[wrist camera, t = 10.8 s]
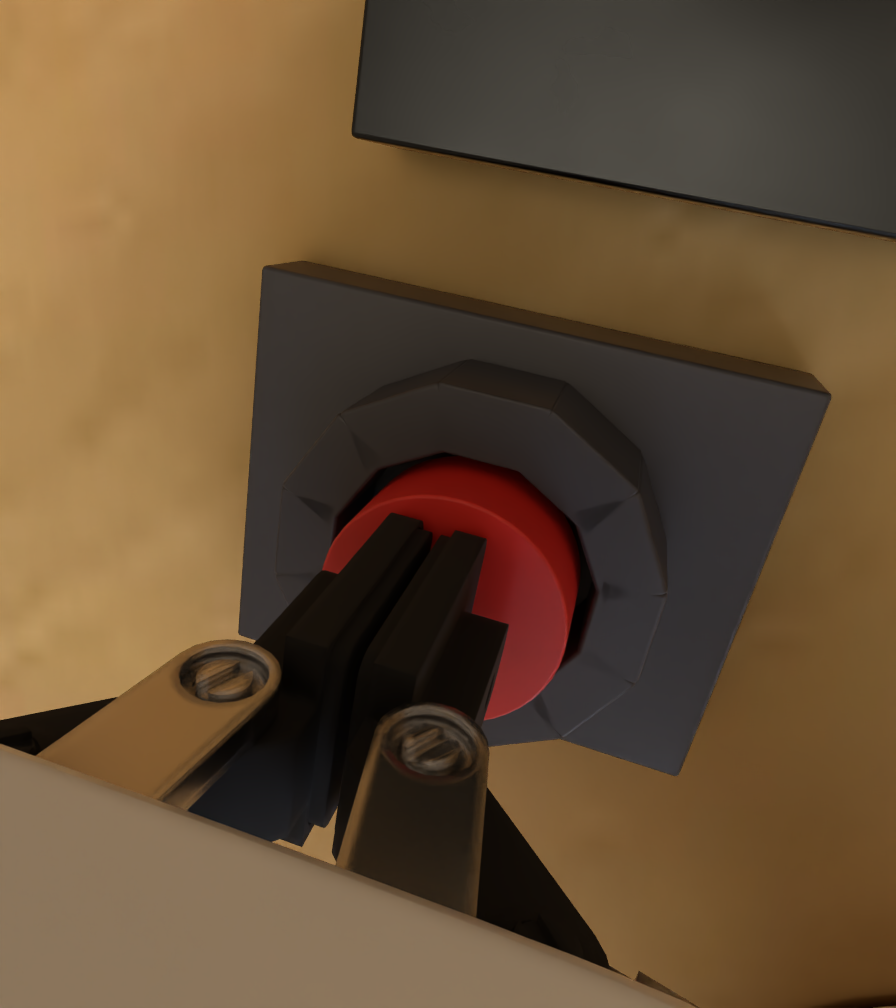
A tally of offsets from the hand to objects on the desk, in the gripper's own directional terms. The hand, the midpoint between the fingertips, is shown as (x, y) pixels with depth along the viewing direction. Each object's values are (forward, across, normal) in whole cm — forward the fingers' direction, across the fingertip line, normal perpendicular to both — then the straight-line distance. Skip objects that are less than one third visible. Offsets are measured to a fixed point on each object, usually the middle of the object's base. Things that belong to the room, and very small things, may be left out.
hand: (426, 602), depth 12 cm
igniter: (+5, 0, 0) cm, 5 cm away
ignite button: (+2, 0, 0) cm, 2 cm away
